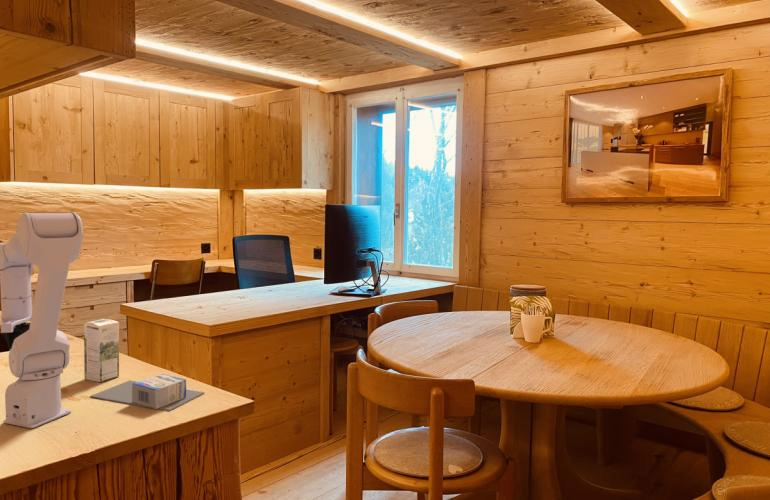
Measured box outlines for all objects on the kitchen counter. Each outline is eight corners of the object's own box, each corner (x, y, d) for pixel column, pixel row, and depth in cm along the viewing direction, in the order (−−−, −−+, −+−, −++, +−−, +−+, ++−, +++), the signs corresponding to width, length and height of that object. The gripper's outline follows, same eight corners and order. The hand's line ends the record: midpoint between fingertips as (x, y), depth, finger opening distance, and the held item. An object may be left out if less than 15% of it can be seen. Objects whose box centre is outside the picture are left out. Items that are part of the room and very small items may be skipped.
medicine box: (130, 383, 127) (162, 372, 135) (131, 403, 128) (162, 391, 135) (155, 390, 123) (186, 378, 131) (156, 410, 124) (187, 397, 132)
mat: (169, 411, 124) (169, 409, 124) (90, 397, 131) (90, 395, 131) (204, 393, 135) (204, 392, 135) (129, 381, 142) (129, 380, 142)
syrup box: (104, 373, 148) (103, 317, 147) (120, 377, 146) (119, 320, 144) (84, 379, 143) (82, 322, 142) (100, 383, 141) (99, 325, 139)
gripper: (27, 302, 122) (29, 365, 123) (45, 290, 135) (47, 347, 137) (-12, 303, 120) (-10, 367, 121) (11, 291, 133) (13, 349, 135)
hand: (18, 357), depth 129 cm, fingers closed
